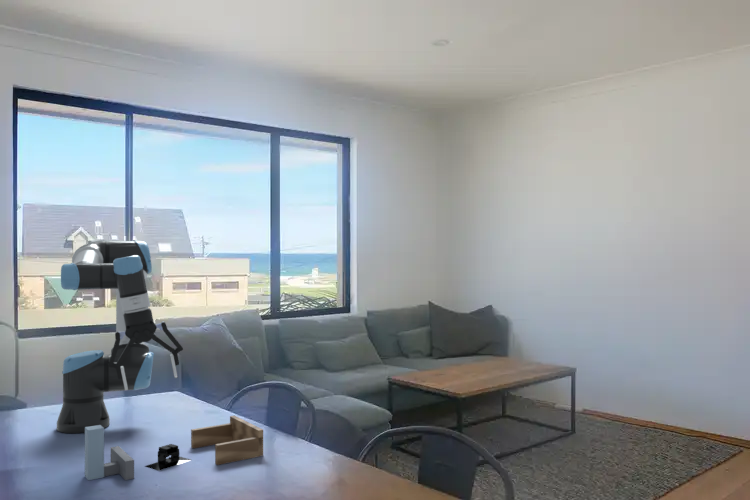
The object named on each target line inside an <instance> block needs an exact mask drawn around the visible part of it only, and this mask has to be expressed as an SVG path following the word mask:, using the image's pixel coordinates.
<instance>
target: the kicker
mask: <svg viewBox="0 0 750 500" xmlns="http://www.w3.org/2000/svg"><path fill="white" fill-rule="evenodd" d="M113 475H120V476H121V477H122V478H123V479H124V480H125V481H128V480H134V479H135V459H134V458H132V456H130V455H129V454H128V452H126V451H125V450H124V449H122V448H121V446H119V445H117V446H112V447H110V462H106V463H105V428H103V427H102V426H101V425H96V426H90V427H85V432H84V478H86V480H87V481H91V480H97V479H101V478H105V477H109V476H113Z"/></svg>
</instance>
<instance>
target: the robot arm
mask: <svg viewBox="0 0 750 500" xmlns="http://www.w3.org/2000/svg"><path fill="white" fill-rule="evenodd" d="M151 257H152V256H151V252H150V247H149V244H148V243H147V242H146V241H144V240H143V241H142V240H135V239H133V240H96V241H92V242H89V243H86V244H84V245H81V246H79V247H78V248H77V249H76V250H75V251H74V253H73V255H72V257H71V263H64V264H62V265H61V269H60V286H61V289H63V290H66V291H67V290H69V291H70V290H73V291H78V290H81V291H82V290H115V289H116V290H115V292H116V293H115V295H116V299H115V300H116V301H115V302H116V303H115V306H116V309H115V317H116V319H115V322H116V323H115V325H116V326H115V330H116V331H115V333H114V335H115V336H114V337H115V340H114V344H113V347H111V351H110V354H105V352H104V350H103V349H95V350H87V351H81V352H78V353H74V354H71V355H68V356H66V357H65V358H64V359H63V362H62V363H63V365H62V374H63V375H62V377H63V378H62V390H63V391H62V406H61V409H60V412H59V415H58V417H57V420H56V431H57V432H59V433H65V434H81V433H82V434H83V433H85V427H90V426H96V425H101V426H102V427H103V428H104V429H105V428H107V427H109V426H110V415H109V412H108V410H107V406H106V403H105V401H104V393H107V392H111V393H112V392H121V391H123V392H124V391H137V390H142V389H143V390H144V389H145V390H146V389H147V388H149V387H150V385H151V379H152V371H153V365H154V355H155V353H154V352H152V351H150V347H149V346H148V345H147V344H146V343H147V342H150V341H151V340H153V341H154V342H156V343H157V344H158V345H160V346H162V348H163V349H165V350H167V351H168V352H170V354H169V357H170V361H171V368H172V372H173V376H174V379H177V378H178V371H177V367H176V366H179V365H180V361H179V356H178V354H179V353H180V352H182V351H183V350H184V348H183V345H182V344H181V343H180V342H179V341H178V340H177V339H176V338H175V336H174V335H173V334H172V333H171V332H170V330H169V329H168V326H167V323H166V322H165V321H161V322H160V323H156V324H155V322H154V317H153V312H152V309H151V308H149V307H151V302H150V296H149V293H148V289H147V284H146V283H147V282H146V280H147V277H148V275H149V274H150V273H152V260H151V259H152V258H151ZM157 329H159V331H163V333H165V335H166V336H167V337H168V339H169V340H170V341H171V342H172V343H173V345H174V346H175V348H173V346H171V345H170V344H168V343H167V342H165V341H164V340H163V339H162V338H160V337H158V336H157V334H155V332H156V330H157Z"/></svg>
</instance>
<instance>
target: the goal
mask: <svg viewBox="0 0 750 500" xmlns="http://www.w3.org/2000/svg"><path fill="white" fill-rule="evenodd" d="M190 442H191V443H190V447H191V449H198V448H202V447H203V448H204V447H208V446H214V445H215V446H214V456H215V457H214V462H215V463H214V464H215V465H216V466H219V465H226V464H229V463H234V462H239V461H243V460H244V461H245V460H249V459H254V458H258V457H263V456H264V429H263V428H261V427H259V426H257V425H254V424H252V423H250V422H249V421H246V420H245V419H243V418H240V417H239V416H237V415H231V416H229V422H228V423H222V424H217V425H211V426H204V427H198V428H192V429H190Z"/></svg>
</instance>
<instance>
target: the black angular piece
mask: <svg viewBox="0 0 750 500" xmlns="http://www.w3.org/2000/svg"><path fill="white" fill-rule="evenodd" d="M191 461H192V459H191V458H188V457H187V458H186V457H183V456H180V448H179V445H176V444H173V443H168V444H165V445H161V446H159V447H158V451H157V461H156V462H153V463H151V464H147V465H144V467H145V468H148V469H150V470H151V469H152V470H153V471H158V472H160V471H163V470H167V469H169V468H173V467H175V466H177V465H178V466H179V465H182V464H184V463H188V462H191Z"/></svg>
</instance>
